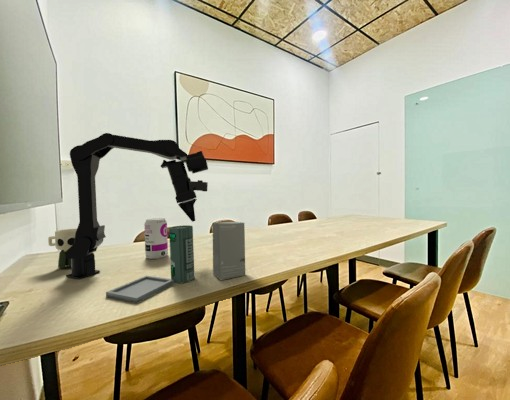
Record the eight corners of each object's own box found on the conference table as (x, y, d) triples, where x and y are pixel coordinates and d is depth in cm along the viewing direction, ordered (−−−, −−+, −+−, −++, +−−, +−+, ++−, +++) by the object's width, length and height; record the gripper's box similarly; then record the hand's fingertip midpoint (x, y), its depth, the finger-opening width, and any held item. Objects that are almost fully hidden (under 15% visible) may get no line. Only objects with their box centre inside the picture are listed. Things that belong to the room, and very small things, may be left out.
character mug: (45, 272, 76) (43, 232, 75) (53, 266, 82) (51, 230, 82) (86, 267, 80) (84, 229, 80) (90, 262, 87) (89, 227, 86)
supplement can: (171, 253, 96) (170, 217, 96) (161, 259, 88) (160, 220, 87) (152, 253, 97) (151, 218, 96) (141, 259, 89) (139, 220, 88)
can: (179, 275, 70) (177, 225, 69) (197, 275, 68) (195, 225, 68) (167, 282, 64) (165, 228, 63) (187, 283, 62) (185, 228, 62)
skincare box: (219, 281, 64) (218, 224, 63) (212, 273, 70) (210, 221, 70) (247, 275, 68) (245, 221, 67) (237, 269, 74) (236, 219, 74)
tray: (106, 297, 55) (105, 292, 55) (146, 279, 66) (146, 275, 66) (136, 303, 52) (136, 298, 52) (174, 283, 63) (174, 279, 63)
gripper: (204, 168, 73) (218, 214, 75) (200, 173, 91) (212, 211, 93) (168, 177, 70) (184, 226, 72) (172, 181, 88) (184, 220, 90)
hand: (193, 219), depth 81 cm, fingers open, 9 cm apart
